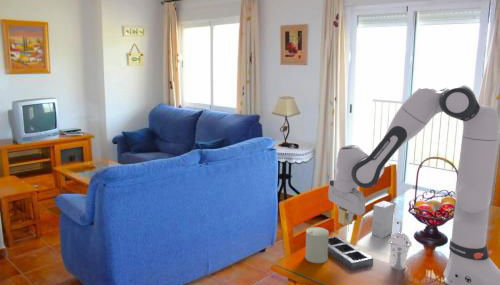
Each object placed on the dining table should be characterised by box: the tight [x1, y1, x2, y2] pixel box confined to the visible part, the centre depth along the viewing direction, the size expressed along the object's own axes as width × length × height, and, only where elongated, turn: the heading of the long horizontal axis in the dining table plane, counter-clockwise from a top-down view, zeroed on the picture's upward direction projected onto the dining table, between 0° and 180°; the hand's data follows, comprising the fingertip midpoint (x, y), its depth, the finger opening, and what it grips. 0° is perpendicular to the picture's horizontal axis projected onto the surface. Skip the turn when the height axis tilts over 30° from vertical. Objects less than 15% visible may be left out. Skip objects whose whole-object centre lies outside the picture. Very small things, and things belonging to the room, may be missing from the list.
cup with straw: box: [388, 220, 413, 270], centre depth 166 cm, size 8×9×20 cm
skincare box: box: [371, 200, 395, 239], centre depth 198 cm, size 8×6×15 cm
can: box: [304, 226, 330, 264], centre depth 175 cm, size 9×9×12 cm
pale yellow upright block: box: [337, 207, 353, 226], centre depth 175 cm, size 4×4×6 cm
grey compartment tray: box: [328, 235, 374, 271], centre depth 178 cm, size 24×10×3 cm, turn 24°
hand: (345, 218), depth 176 cm, fingers closed on pale yellow upright block, 4 cm apart
